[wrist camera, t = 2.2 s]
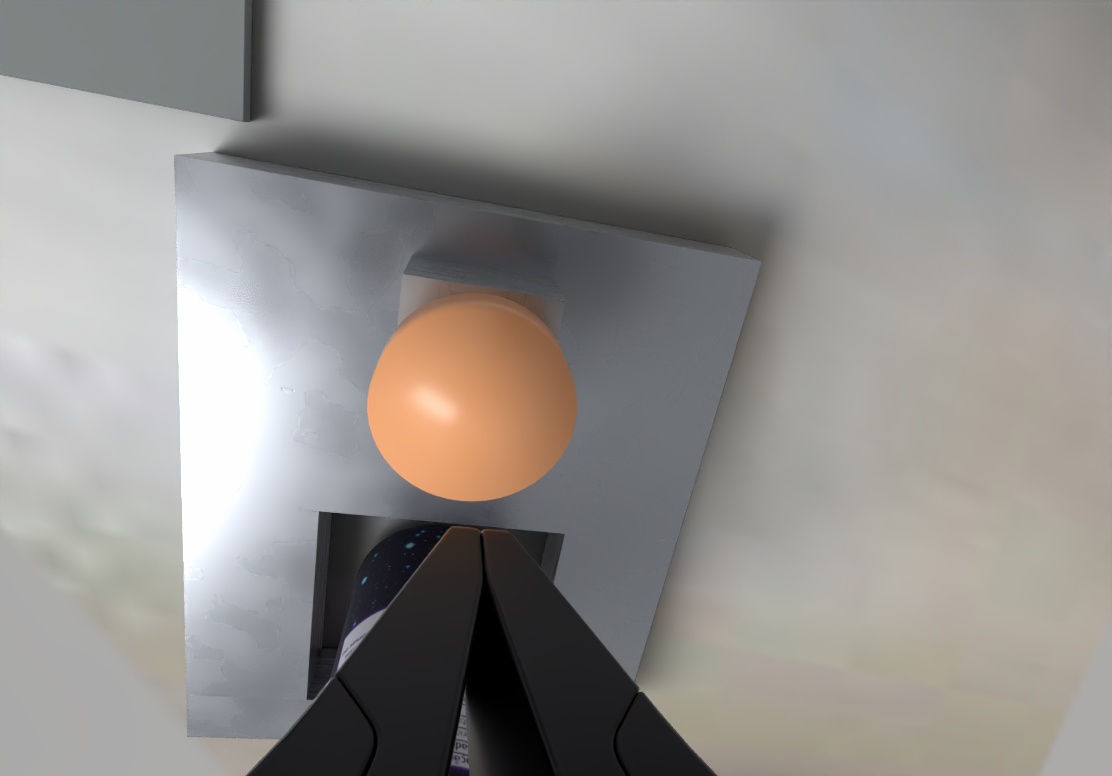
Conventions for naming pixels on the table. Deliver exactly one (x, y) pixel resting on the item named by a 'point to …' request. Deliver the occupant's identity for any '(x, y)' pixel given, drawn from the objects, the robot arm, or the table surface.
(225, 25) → the pad
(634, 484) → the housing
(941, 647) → the table surface
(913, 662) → the table surface
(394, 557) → the beverage can
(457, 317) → the peach dome cap
